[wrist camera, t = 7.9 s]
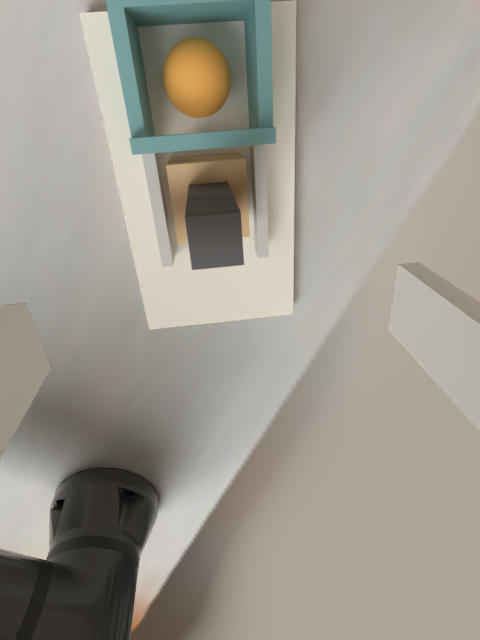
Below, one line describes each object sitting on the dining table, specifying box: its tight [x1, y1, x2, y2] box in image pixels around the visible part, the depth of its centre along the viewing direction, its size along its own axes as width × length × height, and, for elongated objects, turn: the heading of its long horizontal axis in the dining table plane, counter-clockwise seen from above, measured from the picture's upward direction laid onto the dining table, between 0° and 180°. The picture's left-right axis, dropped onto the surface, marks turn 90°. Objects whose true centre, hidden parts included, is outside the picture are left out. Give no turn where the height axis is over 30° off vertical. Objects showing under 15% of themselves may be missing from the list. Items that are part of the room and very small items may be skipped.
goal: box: [105, 0, 276, 155], centre depth 26 cm, size 9×10×7 cm
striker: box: [166, 152, 250, 270], centre depth 27 cm, size 6×6×15 cm
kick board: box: [79, 0, 296, 330], centre depth 33 cm, size 27×16×4 cm, turn 4°
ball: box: [163, 37, 231, 118], centre depth 27 cm, size 5×5×5 cm
